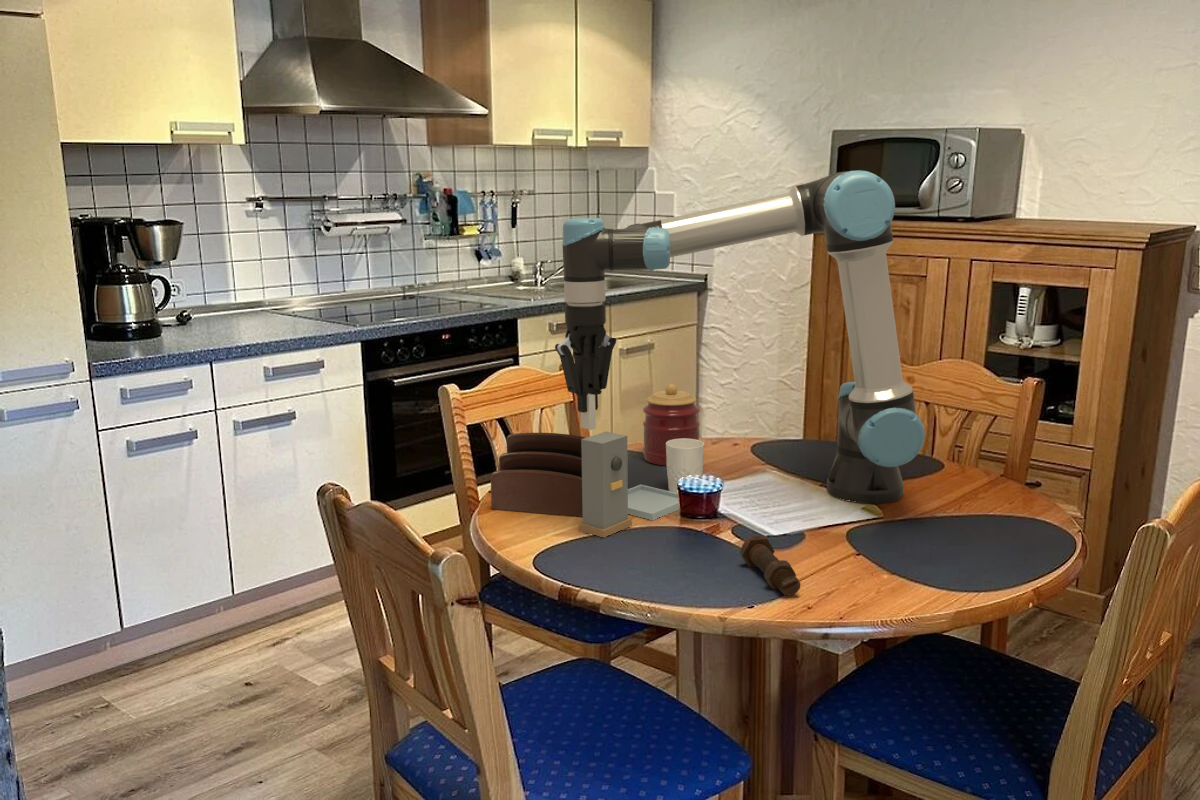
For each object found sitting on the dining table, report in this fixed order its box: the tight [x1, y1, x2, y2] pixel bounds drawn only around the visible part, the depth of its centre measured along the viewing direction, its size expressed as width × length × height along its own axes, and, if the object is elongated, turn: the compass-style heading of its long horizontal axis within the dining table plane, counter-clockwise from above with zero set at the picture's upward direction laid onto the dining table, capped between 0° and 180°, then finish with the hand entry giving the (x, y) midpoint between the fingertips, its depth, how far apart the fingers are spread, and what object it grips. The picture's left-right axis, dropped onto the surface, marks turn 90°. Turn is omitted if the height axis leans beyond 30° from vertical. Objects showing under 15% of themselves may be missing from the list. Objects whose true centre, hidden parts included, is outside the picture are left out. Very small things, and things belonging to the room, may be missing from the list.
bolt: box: [739, 535, 801, 596], centre depth 160 cm, size 6×5×15 cm
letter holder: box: [490, 432, 587, 518], centre depth 197 cm, size 10×20×14 cm, turn 73°
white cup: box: [666, 438, 705, 493], centre depth 206 cm, size 8×8×10 cm
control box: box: [578, 431, 633, 538], centre depth 183 cm, size 6×8×18 cm
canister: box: [642, 383, 701, 466], centre depth 228 cm, size 13×13×18 cm
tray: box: [628, 484, 680, 521], centre depth 197 cm, size 13×13×1 cm
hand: (588, 427), depth 188 cm, fingers closed
